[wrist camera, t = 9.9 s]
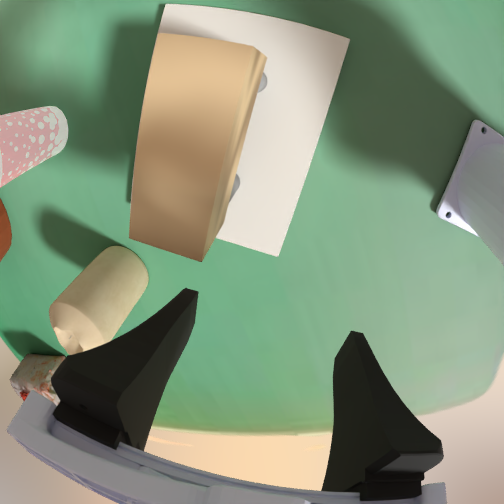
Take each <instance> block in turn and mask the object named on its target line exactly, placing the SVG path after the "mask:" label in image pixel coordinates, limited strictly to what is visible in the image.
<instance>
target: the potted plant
mask: <svg viewBox="0 0 504 504" xmlns="http://www.w3.org/2000/svg"><path fill="white" fill-rule="evenodd" d="M11 239H12V233H11V226H10V222H9V218H8V215H7V212H6V209H5V207H4V205H3V203H2V200H1V199H0V261H1V260H2V258H3V257H4V256H5V254H6V253H7V251H8V250H9V248H10V246H11Z"/></svg>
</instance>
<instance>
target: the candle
mask: <svg viewBox="0 0 504 504" xmlns="http://www.w3.org/2000/svg"><path fill="white" fill-rule="evenodd" d="M148 281H149V276H148V271H147V269H146V266H145V265H144V263H143V261H142V260H141V259H140V258H139V257H138V256H137V255H136V254H135V253H134V252H132V251H131V250H129V249H127V248H125V247H122V246H110V247H108V248H106V249H105V250H103V251H102V252H101V253H100V254H99V255H98V256H97V257H96V258H95V259H94V260H93V261H92V262H91V263H90V264H89V265H88V266H87V267H86V268H85V269H84V270H83V271H82V272H81V273H80V274H79V275H78V276H77V277H76V278H75V279H74V281H73V282H72V283H71V284H70V285H69V286H68V287H67V288H66V289H65V290H64V291H63V292H62V293H61V294H60V295H59V297H58V298H57V299H56V300H55V301H54V302H53V303H52V304H51V306H50V308H49V316H50V322H51V325H52V328H53V330H54V332H55V334H56V336H57V338H58V340H59V342H60V344H61V345H62V346H63V347H64V348H65V350H66V351H67V353H68V354H70V355H73V354H76V353H80V352H83V351H87V350H90V349H92V348H95V347H98V346H100V345H103V344H105V343H107V342H110V341H111V340H112V338H113V337H114V335H115V334H116V332H117V331H118V329H119V328H120V326H121V325H122V323H123V322H124V320H125V319H126V317H127V316H128V314H129V313H130V311H131V310H132V308H133V307H134V306H135V304H136V303H137V301H138V300H139V298H140V297H141V295H142V294H143V292H144V291H145V289H146V287H147V285H148Z"/></svg>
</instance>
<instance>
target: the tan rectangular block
mask: <svg viewBox="0 0 504 504" xmlns="http://www.w3.org/2000/svg"><path fill="white" fill-rule="evenodd" d="M266 61H267V57H266V56H265V55H264V54H263V53H261V52H260V51H259V50H258V49H256V48H255V47H254V46H250V45H245V44H240V43H235V42H229V41H223V40H217V39H211V38H203V37H196V36H187V35H178V34H166V33H158V37H157V41H156V45H155V49H154V53H153V58H152V62H151V67H150V71H149V76H148V81H147V86H146V92H145V97H144V103H143V109H142V115H141V121H140V127H139V134H138V142H137V149H136V158H135V166H134V176H133V187H132V198H131V212H130V230H129V238H130V239H133V240H136V241H139V242H142V243H145V244H148V245H151V246H154V247H157V248H160V249H163V250H166V251H169V252H172V253H175V254H178V255H181V256H184V257H187V258H190V259H193V260H197V261H200V262H202V261H203V259H204V257H205V255H206V253H207V252H208V250H209V248H210V246H211V245H212V243H213V241H214V239H215V238H216V236H217V234H218V232H219V231H220V229H221V227H222V225H223V224H224V221H225V216H226V212H227V208H228V204H229V200H230V196H231V192H232V188H233V184H234V180H235V176H236V172H237V168H238V164H239V160H240V156H241V152H242V148H243V144H244V141H245V137H246V133H247V129H248V126H249V122H250V118H251V114H252V111H253V107H254V103H255V100H256V96H257V92H258V89H259V85H260V82H261V78H262V75H263V71H264V68H265V64H266Z"/></svg>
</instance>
